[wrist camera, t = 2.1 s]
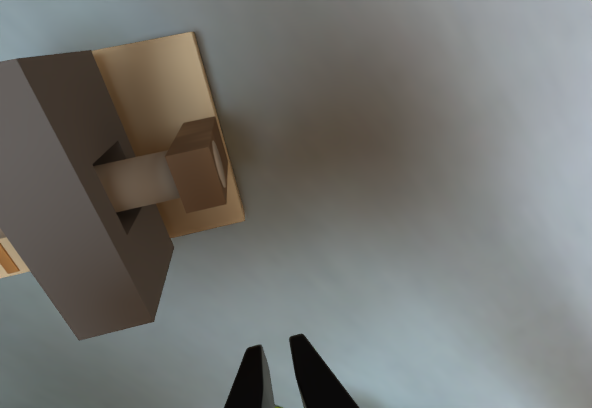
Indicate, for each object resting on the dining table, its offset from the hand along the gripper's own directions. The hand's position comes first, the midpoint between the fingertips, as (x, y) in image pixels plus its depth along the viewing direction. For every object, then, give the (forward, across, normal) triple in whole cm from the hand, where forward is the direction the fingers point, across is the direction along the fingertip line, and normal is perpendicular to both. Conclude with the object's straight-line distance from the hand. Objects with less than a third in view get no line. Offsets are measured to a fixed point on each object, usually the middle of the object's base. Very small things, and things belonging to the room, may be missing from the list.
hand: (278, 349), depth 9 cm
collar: (+10, +7, -3) cm, 12 cm away
